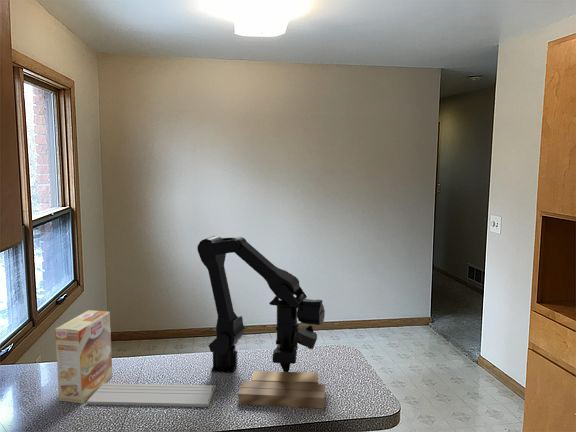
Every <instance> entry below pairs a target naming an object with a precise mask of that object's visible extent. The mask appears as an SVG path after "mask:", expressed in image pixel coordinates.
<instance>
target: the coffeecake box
mask: <svg viewBox="0 0 576 432" xmlns="http://www.w3.org/2000/svg"><path fill="white" fill-rule="evenodd" d="M54 332H55V334H54V335H55V352H56V365H57V370H56V371H57V386H58V401H59V402H68V403H75V404H84V403H85V402H87V401H88V400H89V398H90V397H91V396H92V395H93V394H94V393H95V391H97V389H98V388H99V387H100V386H101V384H104V383H108V382H109V380H111V378H113V363H112V362H113V361H112V360H113V358H112V337H111V336H112V335H111V311H108V310H92V309H90V310H89V309H88V310H86V311H84V312H83V313H81V314H79V315H77V316H76V317H74V318H72V319H70V320H69V321H67V322H65V323H63V324H61V325H60V326H58V327H56V328H54Z"/></svg>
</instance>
